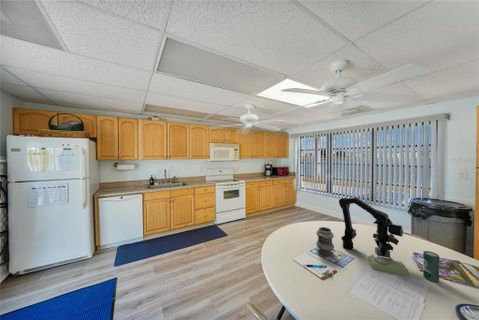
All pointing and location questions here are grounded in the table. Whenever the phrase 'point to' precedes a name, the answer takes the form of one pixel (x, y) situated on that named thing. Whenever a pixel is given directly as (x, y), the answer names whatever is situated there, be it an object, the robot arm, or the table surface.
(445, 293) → the table surface
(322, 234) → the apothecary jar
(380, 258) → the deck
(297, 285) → the table surface
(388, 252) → the grey stepped block
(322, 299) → the table surface
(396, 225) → the robot arm
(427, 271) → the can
